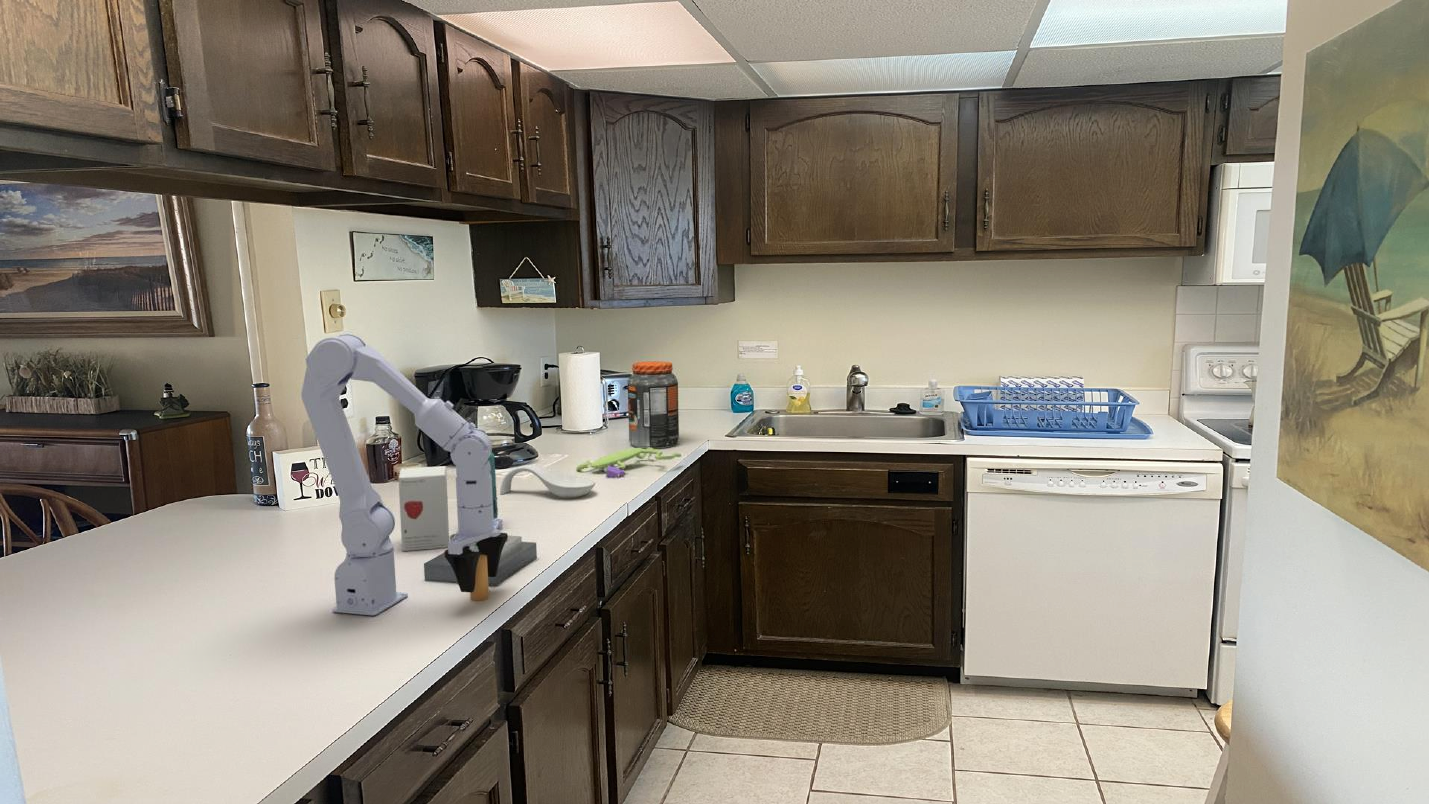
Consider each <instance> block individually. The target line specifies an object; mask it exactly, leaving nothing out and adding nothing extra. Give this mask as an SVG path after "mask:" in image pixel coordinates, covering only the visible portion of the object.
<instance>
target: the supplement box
mask: <svg viewBox="0 0 1429 804" xmlns="http://www.w3.org/2000/svg"><path fill="white" fill-rule="evenodd" d="M447 481H448V478H447V466H446V465H445V466H444V465H443V466H441V465H439V466H428V467H427V466H424V467H423V466H422V467H407V468H404V467H403V468H401V469H400V471H399V475H398V494H399V495H398V497H399V515H400V516H399V517H400V535H401V537H400V538H401V550H402V552H406V551H407V552H410V551H421V550H434V549H435V550H436V549H445V548H447V549H448V542H449V541H450V532H449V531H450V528H449V508H448V506H449V504H448V503H449V502H448V500H449V499H448V498H449V497H448V482H447Z"/></svg>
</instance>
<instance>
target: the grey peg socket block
mask: <svg viewBox="0 0 1429 804" xmlns="http://www.w3.org/2000/svg"><path fill="white" fill-rule="evenodd" d="M455 534H456V533H454V534H451V535H449V541H451V540H452V539H453V537H454V536H455ZM537 548H538V547H537V542H532V541H522V547H521V548H519V549H518V550H516V551H514V552H513V553H511V554H510V555H508V556H507V557H505V558H504V559H502V560H500V561H499V566H498V571H497V575H496V577H488V586H495V587H496V586H497V587H498V585H501V583H503V582H505V580H508V579H509V578H510V577H512V576H514V575H515V574H516V573H518V572H519V571H520V570H521V569H523V568H524V567H525V566H527V565H529V564H530V563H531V562H533V561H535V560H536V559H537V558H538V553H537V552H538V551H537ZM423 575H424V581H431V582H433V581H434V582H446V583H456V584H457V583H458V581H457V578H456V575H455V573H454V571H453V568H452V567H451V565H450V563H449V562H448V561H447V559H446V558H445V554H444V552H442V553H441V554H438V555H437V556H435V557H433V558H431V559H430V560H428V561H426V562H424V563H423Z"/></svg>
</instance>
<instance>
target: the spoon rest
mask: <svg viewBox="0 0 1429 804" xmlns="http://www.w3.org/2000/svg"><path fill="white" fill-rule="evenodd" d="M523 472H529V473H532V474H533V475H534V476H536V477H537V478H538V479H539V480H540V482H542V484H543V485H544V486H545V487H546V488H547V490H548V491H550V493H552V494H553V495H555V496H556V497H557V498H561V499H575V498H579V497H582V496H585V495H586V494H588V493H590V492H591V491H592V489H593V488H594V487H595V486H596V481H595V480H594V479H592V478H590V477H586V476H582V475H577V474H572V473H566V472H563V471H562V472H561V471H558V470H553V469H551V468H547V467H543V466H539V465H533V464H527V465H526V464H525V465H520V466H517V467H516V468H514V469H512V470H510V471H508V472H507V474H505V476H504V477H503V479H502V481H501V485H500V488H499V493H500V494H501V495H504V494H505V495H506V494H508V493H509V492H510V491H511V490H512V483H513V478H514V476H516V475H517V474H519V473H523Z"/></svg>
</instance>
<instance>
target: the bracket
mask: <svg viewBox="0 0 1429 804" xmlns="http://www.w3.org/2000/svg"><path fill="white" fill-rule="evenodd" d="M522 540H523V539H522V535H510V534H509V535H508V539H507V540H506V542H505V544H504V547H503V549H502V552H501V556H500V560H502V559H504V558H505V557H507V556H508V555H510V554H511V553H513V552H514V551H516V550H518V549H519V548H521V547H522V542H523V541H522ZM470 549H471V550H472V551H475V552H479V551H478V547H477V545H476V543H475V544H473V545H471V546H470Z"/></svg>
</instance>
